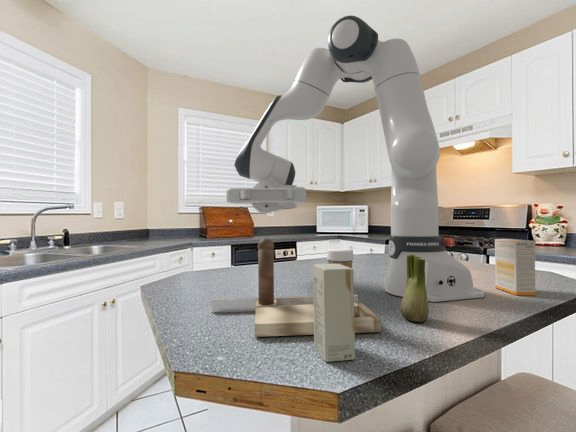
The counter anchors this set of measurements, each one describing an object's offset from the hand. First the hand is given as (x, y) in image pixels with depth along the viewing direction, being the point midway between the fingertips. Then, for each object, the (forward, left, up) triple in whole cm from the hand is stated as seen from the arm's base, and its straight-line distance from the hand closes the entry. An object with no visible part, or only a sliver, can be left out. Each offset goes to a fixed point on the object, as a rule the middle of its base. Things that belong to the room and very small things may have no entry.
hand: (267, 193), depth 75 cm
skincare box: (-9, +31, -25) cm, 40 cm away
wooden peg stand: (-8, +18, -24) cm, 31 cm away
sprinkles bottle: (-12, +20, -25) cm, 34 cm away
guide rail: (-4, +9, -25) cm, 27 cm away
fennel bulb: (-26, +19, -25) cm, 41 cm away
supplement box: (-62, +1, -25) cm, 66 cm away
